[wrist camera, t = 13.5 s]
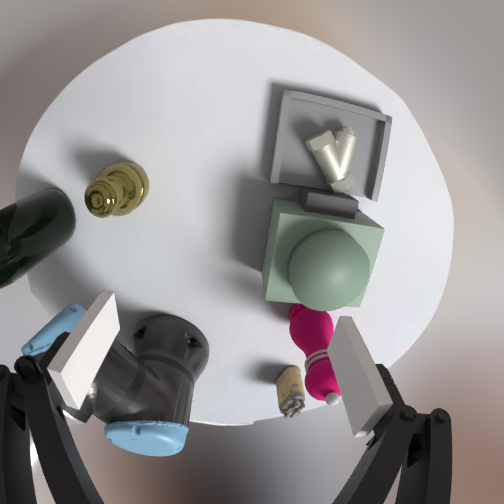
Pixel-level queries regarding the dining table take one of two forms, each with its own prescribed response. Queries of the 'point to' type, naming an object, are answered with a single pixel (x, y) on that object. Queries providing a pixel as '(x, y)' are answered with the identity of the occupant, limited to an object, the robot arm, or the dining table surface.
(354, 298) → the mower housing
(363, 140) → the tray
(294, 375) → the tan cylindrical piece
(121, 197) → the brass rounded piece
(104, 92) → the dining table surface
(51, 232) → the dark green wine bottle
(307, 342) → the pepper mill
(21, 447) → the robot arm
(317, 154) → the pipe fitting
